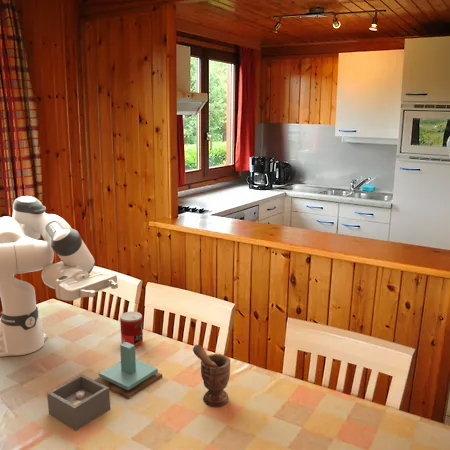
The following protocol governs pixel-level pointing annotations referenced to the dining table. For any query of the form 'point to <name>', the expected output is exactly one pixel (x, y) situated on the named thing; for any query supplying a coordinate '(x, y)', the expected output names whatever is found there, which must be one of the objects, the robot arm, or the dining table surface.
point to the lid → (128, 369)
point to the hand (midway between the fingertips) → (105, 290)
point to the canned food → (131, 328)
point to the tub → (78, 401)
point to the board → (133, 390)
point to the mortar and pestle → (214, 376)
